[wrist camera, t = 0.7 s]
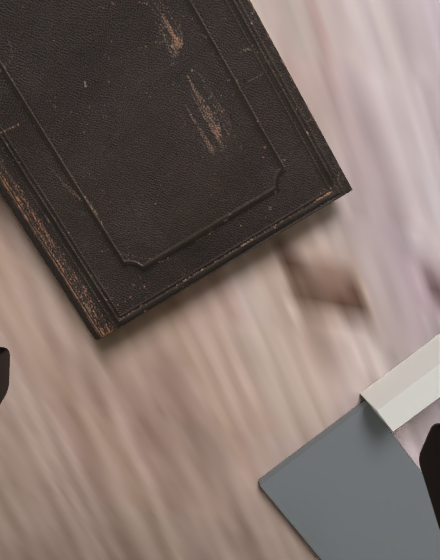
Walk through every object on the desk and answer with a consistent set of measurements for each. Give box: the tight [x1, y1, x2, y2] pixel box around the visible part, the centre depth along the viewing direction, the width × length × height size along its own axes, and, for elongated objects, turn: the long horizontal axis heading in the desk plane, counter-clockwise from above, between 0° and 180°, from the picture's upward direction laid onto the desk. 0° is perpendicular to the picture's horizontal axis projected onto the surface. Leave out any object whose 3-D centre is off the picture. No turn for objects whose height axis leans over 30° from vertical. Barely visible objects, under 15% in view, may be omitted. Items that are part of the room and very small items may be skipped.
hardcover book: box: [0, 0, 352, 340], centre depth 22 cm, size 16×23×2 cm
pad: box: [259, 400, 440, 560], centre depth 25 cm, size 8×12×1 cm, turn 38°
